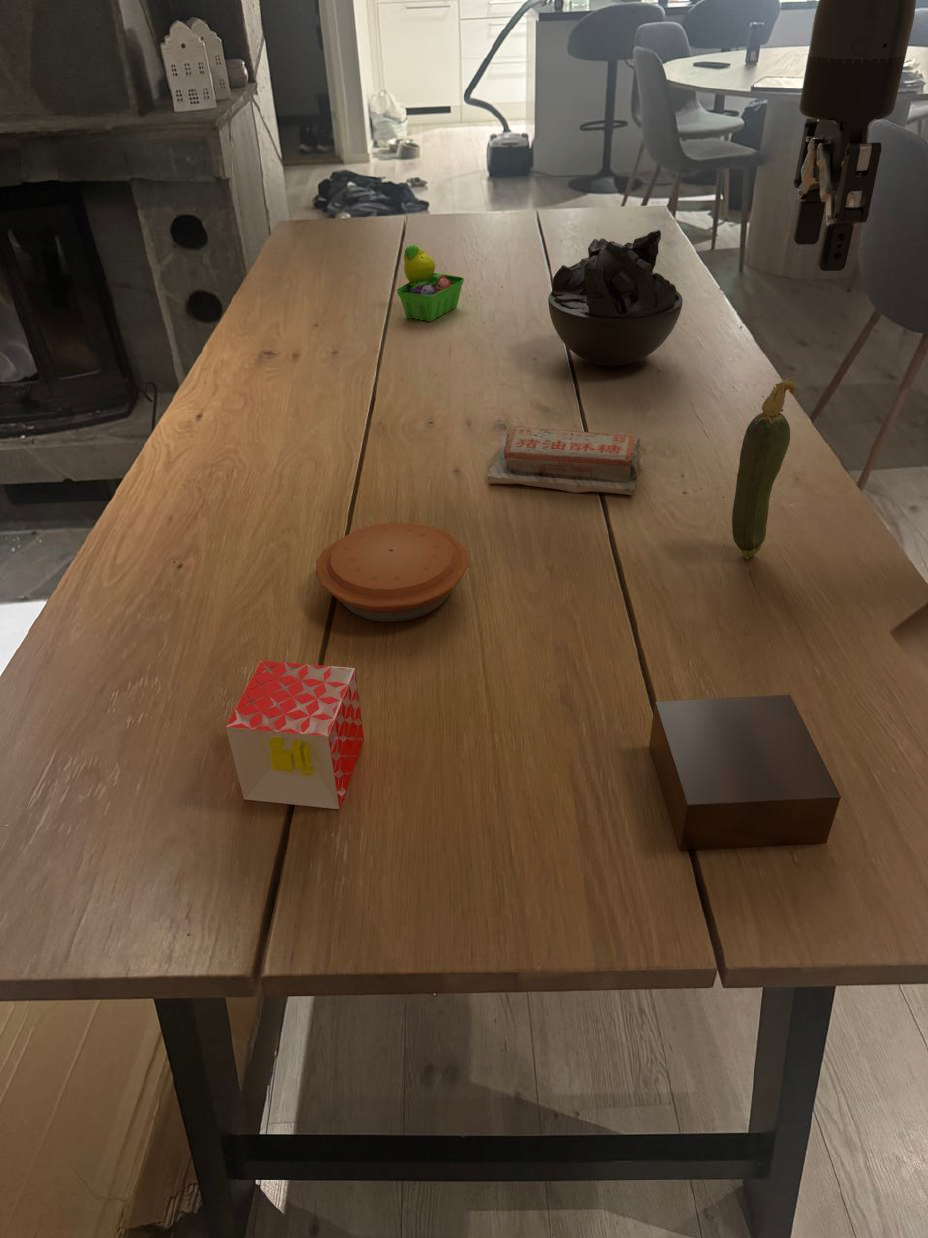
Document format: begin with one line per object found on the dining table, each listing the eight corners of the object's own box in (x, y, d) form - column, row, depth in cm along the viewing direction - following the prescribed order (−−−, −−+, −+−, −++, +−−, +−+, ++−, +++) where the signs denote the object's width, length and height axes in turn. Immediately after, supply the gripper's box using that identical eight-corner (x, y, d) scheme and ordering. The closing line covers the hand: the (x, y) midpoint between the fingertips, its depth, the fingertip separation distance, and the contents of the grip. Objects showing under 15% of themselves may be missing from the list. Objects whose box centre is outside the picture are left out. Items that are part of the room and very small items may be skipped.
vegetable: (716, 551, 101) (744, 375, 89) (741, 537, 103) (772, 363, 91) (750, 568, 98) (784, 388, 86) (775, 553, 100) (811, 376, 88)
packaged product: (644, 425, 115) (637, 462, 108) (640, 460, 118) (633, 499, 110) (502, 414, 119) (486, 449, 111) (502, 449, 122) (486, 485, 114)
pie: (500, 588, 96) (500, 548, 93) (386, 657, 88) (382, 614, 85) (402, 535, 105) (399, 496, 102) (290, 592, 97) (283, 552, 94)
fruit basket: (432, 325, 160) (429, 258, 154) (390, 317, 164) (385, 251, 158) (466, 306, 168) (465, 241, 161) (426, 299, 172) (422, 235, 165)
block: (779, 739, 77) (790, 694, 74) (826, 843, 69) (841, 796, 66) (648, 746, 77) (654, 701, 74) (679, 851, 68) (687, 805, 65)
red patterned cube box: (243, 799, 74) (225, 726, 69) (275, 731, 80) (260, 660, 75) (340, 809, 73) (329, 736, 68) (365, 739, 79) (355, 668, 74)
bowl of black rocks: (554, 389, 137) (558, 257, 126) (540, 340, 153) (543, 220, 142) (688, 383, 137) (704, 252, 126) (661, 336, 153) (673, 215, 142)
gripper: (937, 58, 69) (884, 279, 79) (876, 39, 81) (836, 234, 90) (835, 60, 70) (795, 280, 79) (788, 41, 81) (758, 236, 91)
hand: (817, 255), depth 85 cm, fingers open, 8 cm apart
